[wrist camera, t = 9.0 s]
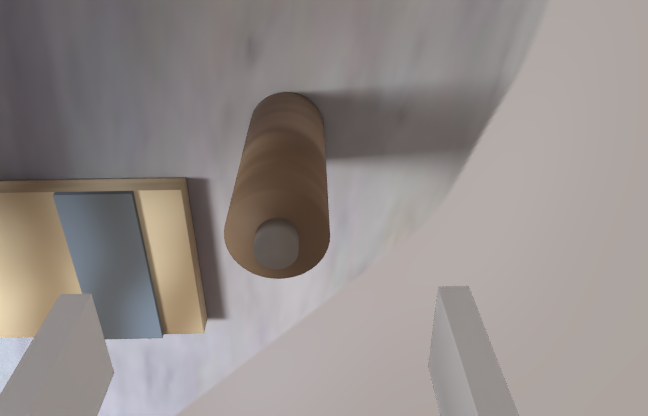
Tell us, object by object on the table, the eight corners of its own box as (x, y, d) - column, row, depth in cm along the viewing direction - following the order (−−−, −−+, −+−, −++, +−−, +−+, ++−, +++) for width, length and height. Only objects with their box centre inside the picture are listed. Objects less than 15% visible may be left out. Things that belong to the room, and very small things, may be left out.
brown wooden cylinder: (252, 161, 26) (226, 295, 18) (247, 92, 25) (214, 205, 16) (324, 160, 26) (330, 292, 18) (323, 91, 25) (330, 202, 16)
